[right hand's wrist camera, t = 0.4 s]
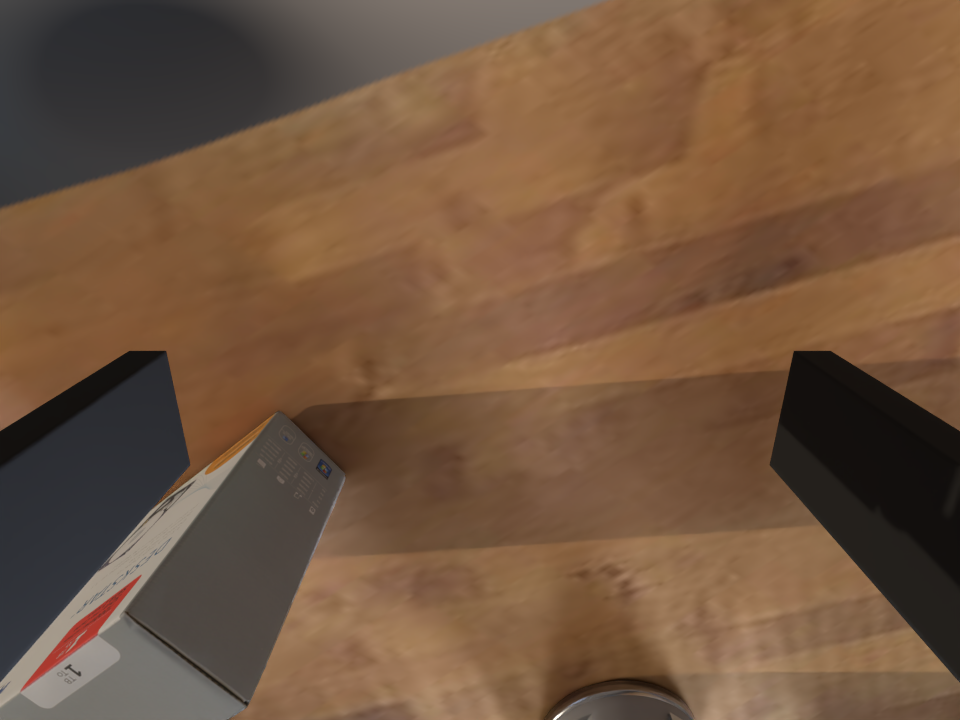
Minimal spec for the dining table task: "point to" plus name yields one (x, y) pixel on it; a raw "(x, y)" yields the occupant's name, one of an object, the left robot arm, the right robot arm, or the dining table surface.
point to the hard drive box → (188, 593)
